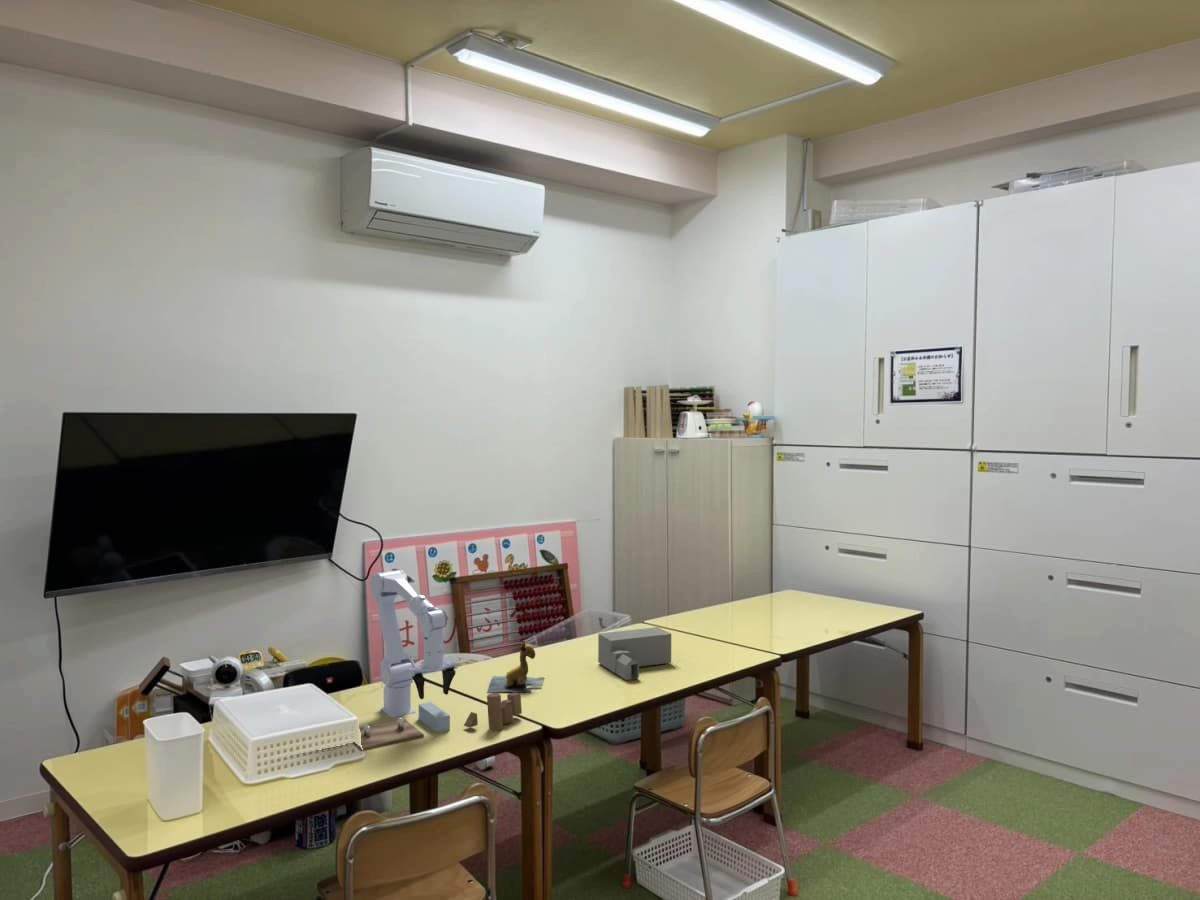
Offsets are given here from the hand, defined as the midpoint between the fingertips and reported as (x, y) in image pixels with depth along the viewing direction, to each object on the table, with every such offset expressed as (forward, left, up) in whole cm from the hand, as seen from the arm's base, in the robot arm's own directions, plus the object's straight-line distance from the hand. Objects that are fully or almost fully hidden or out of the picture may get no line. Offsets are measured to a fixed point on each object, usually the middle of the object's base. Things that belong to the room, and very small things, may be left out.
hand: (433, 695), depth 258 cm
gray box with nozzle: (-16, +88, -10) cm, 90 cm away
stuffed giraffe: (-21, +39, -10) cm, 45 cm away
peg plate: (0, -15, -9) cm, 18 cm away
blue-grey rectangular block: (-1, +1, -10) cm, 10 cm away
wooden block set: (+10, +16, -10) cm, 21 cm away
